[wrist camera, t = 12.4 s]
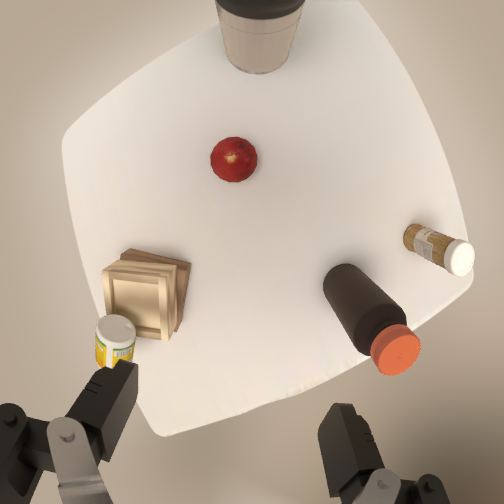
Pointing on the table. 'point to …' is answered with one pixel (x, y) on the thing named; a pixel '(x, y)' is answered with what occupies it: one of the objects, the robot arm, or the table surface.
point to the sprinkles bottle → (440, 249)
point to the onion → (233, 159)
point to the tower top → (143, 296)
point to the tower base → (182, 267)
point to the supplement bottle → (114, 340)
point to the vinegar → (371, 319)
